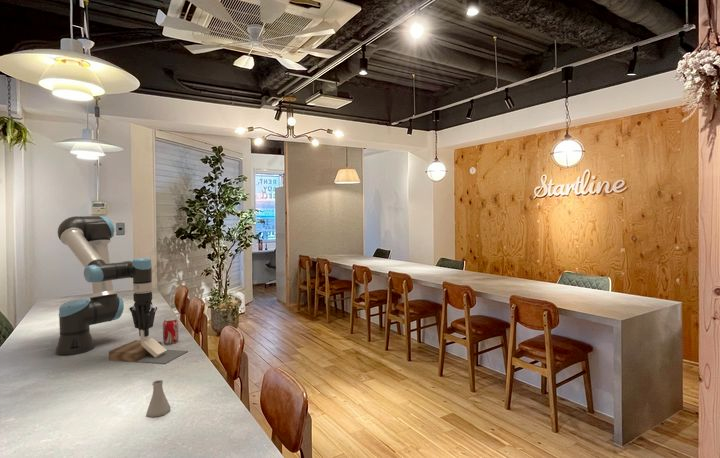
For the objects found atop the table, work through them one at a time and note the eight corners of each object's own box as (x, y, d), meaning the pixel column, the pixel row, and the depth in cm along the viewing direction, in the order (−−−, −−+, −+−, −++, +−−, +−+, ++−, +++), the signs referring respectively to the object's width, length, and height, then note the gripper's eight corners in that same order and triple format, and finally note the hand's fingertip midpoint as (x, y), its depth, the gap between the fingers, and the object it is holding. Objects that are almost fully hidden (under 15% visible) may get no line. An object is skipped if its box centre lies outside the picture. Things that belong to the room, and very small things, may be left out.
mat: (136, 362, 175) (136, 361, 175) (161, 350, 190) (161, 349, 190) (165, 364, 172) (165, 363, 172) (187, 351, 188) (187, 350, 188)
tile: (141, 345, 180) (143, 341, 180) (150, 341, 186) (152, 337, 185) (155, 358, 179) (157, 354, 178) (164, 353, 184) (166, 350, 184)
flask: (151, 407, 133) (151, 377, 133) (174, 406, 134) (173, 376, 134) (141, 418, 126) (141, 387, 126) (165, 417, 127) (164, 386, 126)
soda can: (172, 345, 198) (172, 321, 197) (159, 344, 199) (159, 320, 199) (181, 340, 205) (181, 317, 204) (169, 340, 206) (168, 316, 206)
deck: (109, 360, 177) (108, 351, 177) (135, 348, 193) (135, 340, 193) (136, 362, 175) (136, 353, 175) (161, 350, 190) (161, 341, 190)
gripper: (124, 293, 180) (125, 345, 180) (149, 293, 177) (151, 346, 178) (136, 290, 187) (137, 340, 188) (161, 290, 185) (162, 341, 185)
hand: (144, 343), depth 183 cm, fingers closed
